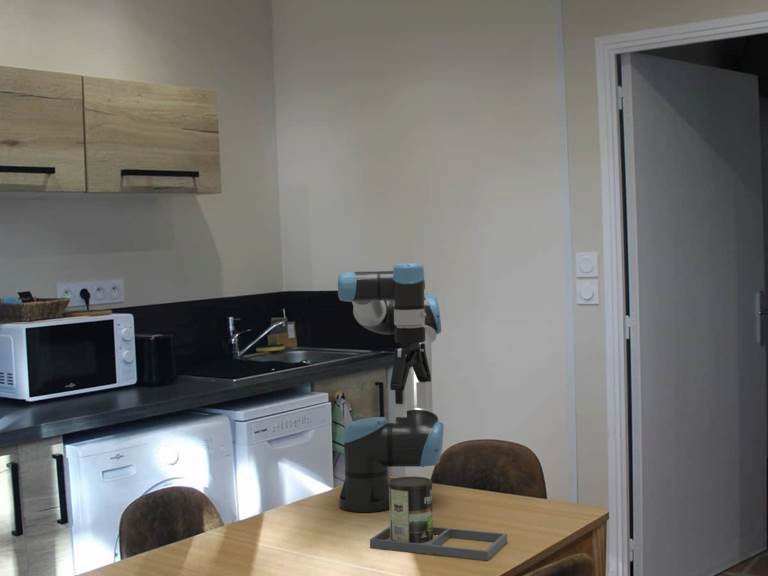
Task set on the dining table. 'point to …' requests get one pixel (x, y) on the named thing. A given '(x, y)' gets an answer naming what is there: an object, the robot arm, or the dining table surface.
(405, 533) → the coffee can
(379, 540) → the organiser
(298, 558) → the dining table surface
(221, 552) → the dining table surface
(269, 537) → the dining table surface
